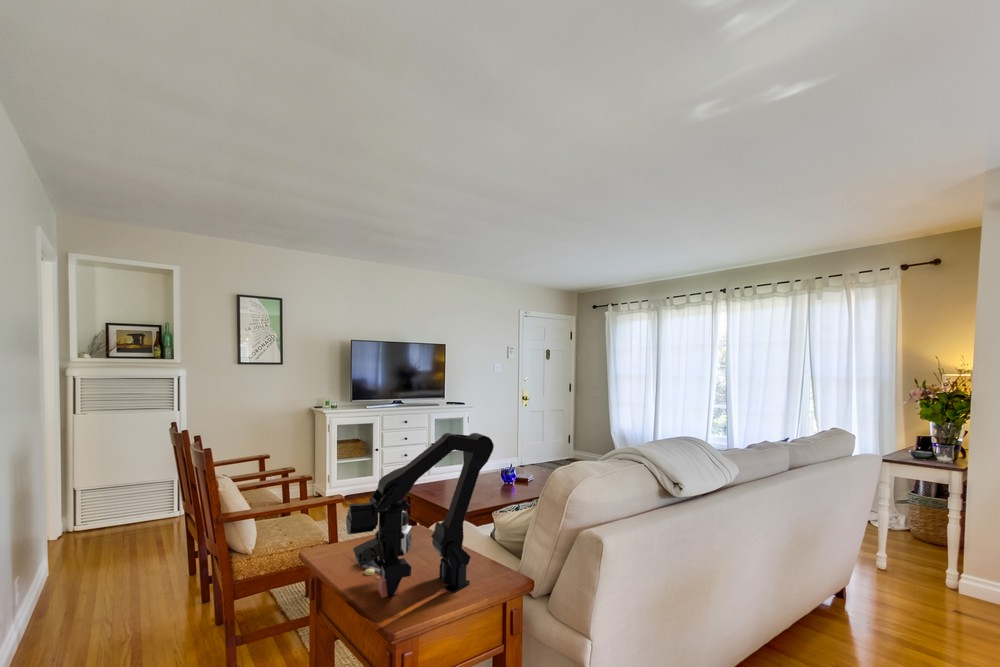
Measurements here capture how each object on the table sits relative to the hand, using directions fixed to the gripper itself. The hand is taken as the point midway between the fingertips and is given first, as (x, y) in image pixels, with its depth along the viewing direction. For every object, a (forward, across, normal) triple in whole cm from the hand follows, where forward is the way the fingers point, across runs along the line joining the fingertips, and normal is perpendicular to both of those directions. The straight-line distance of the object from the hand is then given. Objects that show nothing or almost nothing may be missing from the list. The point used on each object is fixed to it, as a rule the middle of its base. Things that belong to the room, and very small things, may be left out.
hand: (388, 593), depth 121 cm
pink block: (+1, 0, 0) cm, 1 cm away
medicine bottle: (+1, -27, +9) cm, 28 cm away
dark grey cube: (0, -18, 0) cm, 18 cm away
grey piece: (+1, -14, 0) cm, 14 cm away
